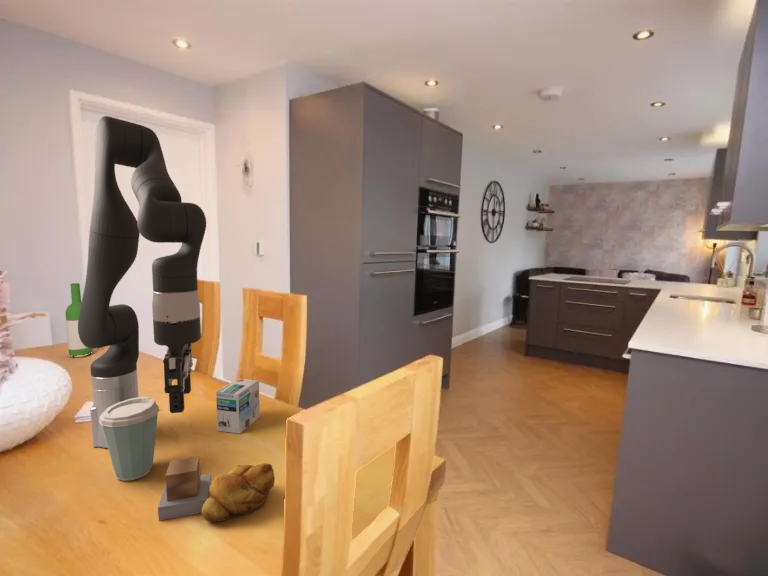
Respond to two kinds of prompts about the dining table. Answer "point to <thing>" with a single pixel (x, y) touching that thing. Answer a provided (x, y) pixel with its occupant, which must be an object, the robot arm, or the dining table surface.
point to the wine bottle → (75, 323)
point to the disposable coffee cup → (131, 436)
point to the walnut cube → (183, 478)
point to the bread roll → (238, 492)
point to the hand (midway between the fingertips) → (181, 402)
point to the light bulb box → (238, 405)
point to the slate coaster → (185, 502)
